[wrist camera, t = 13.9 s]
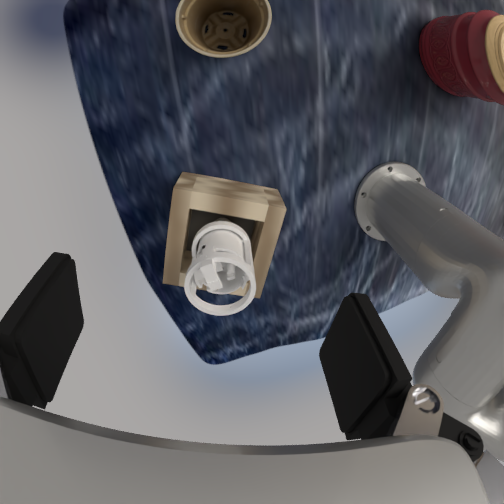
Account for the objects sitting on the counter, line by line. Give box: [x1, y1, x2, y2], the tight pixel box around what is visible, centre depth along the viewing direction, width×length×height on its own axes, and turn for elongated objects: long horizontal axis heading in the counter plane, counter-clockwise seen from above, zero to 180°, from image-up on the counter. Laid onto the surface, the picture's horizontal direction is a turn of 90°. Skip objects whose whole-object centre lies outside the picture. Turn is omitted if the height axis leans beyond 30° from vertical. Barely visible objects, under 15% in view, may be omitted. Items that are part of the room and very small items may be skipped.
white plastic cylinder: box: [184, 218, 256, 316], centre depth 36 cm, size 7×7×15 cm
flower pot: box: [176, 0, 272, 58], centre depth 27 cm, size 9×9×9 cm
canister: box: [419, 10, 504, 105], centre depth 24 cm, size 13×13×18 cm
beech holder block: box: [163, 172, 286, 298], centre depth 40 cm, size 13×13×7 cm
